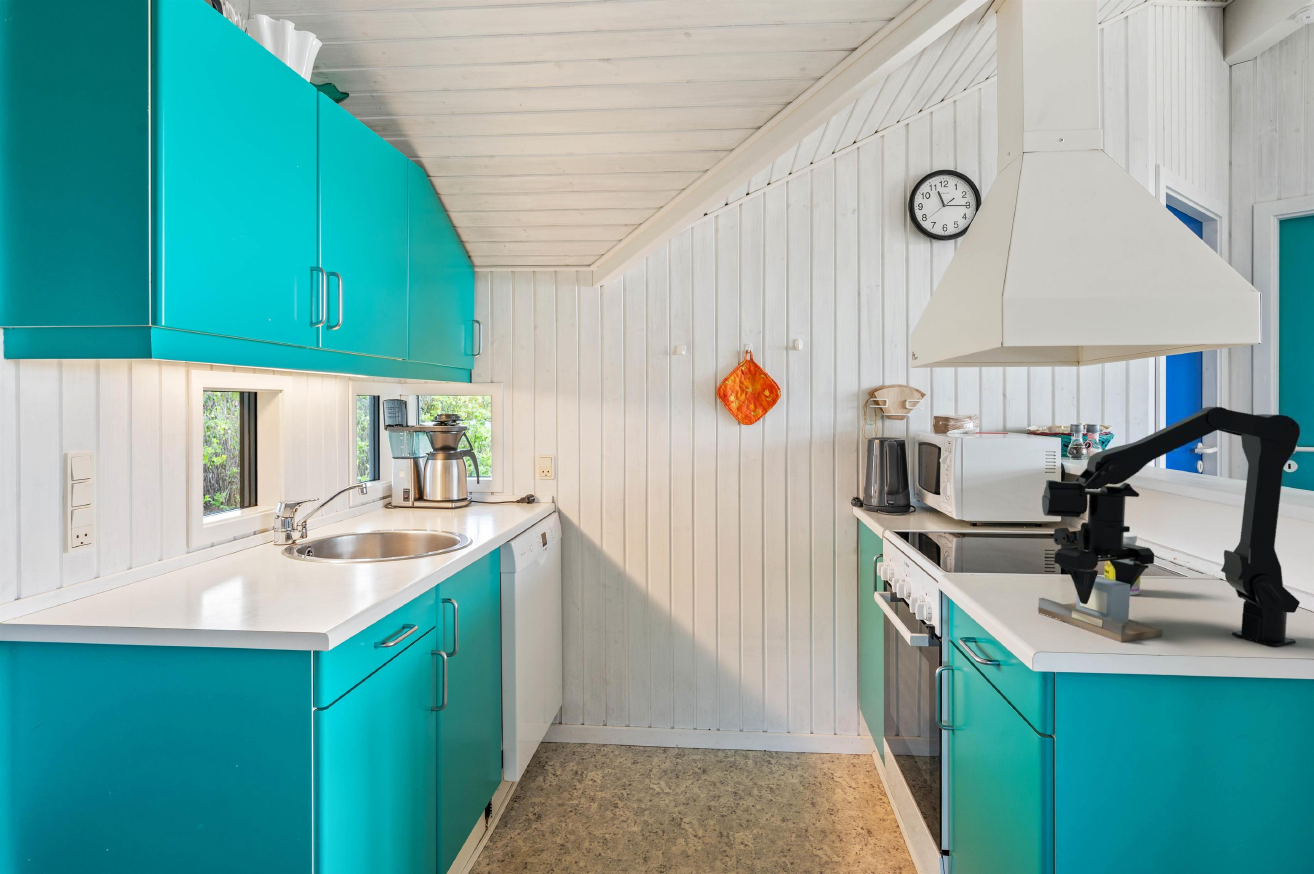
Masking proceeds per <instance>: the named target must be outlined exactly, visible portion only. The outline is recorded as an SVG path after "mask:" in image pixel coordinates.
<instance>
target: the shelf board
mask: <svg viewBox="0 0 1314 874" xmlns="http://www.w3.org/2000/svg"><path fill="white" fill-rule="evenodd" d="M1037 609H1038V610H1037V613H1038V612H1039V613H1038V614H1040V613H1042V614H1045V615H1048V616H1051V617H1053V618H1052V619H1054V618H1057V619H1060V620H1062V621H1065V622H1068V623H1071V624H1074V625H1076V626H1075V627H1077V626H1078V627H1077V628H1079V627H1081V628H1080V629H1082V628H1083V630H1085V629H1086V631H1088V630H1089V631H1088V632H1091V633H1094V634H1097V635H1100V636H1103V637H1105V638H1108V639H1111V640H1115V641H1117V642H1119V643H1125V642H1130V641H1131V642H1132V641H1136V640H1145V639H1152V638H1153V639H1154V638H1160V637H1163V629H1161V628H1158V627H1154V626H1152V625H1149V624H1145V623H1142V622H1138V621H1135V620H1133V619H1128V622H1123V623H1120V622H1117V621H1114V620H1110V619H1107V618H1104V617H1101V616H1098V615H1095V614H1092V613H1089V612H1086V611H1083V610H1080V609H1076V602H1072V603H1061V602H1058V601H1054V600H1052V599H1048V598H1045V597H1038V607H1037ZM1042 614H1041V615H1042ZM1045 615H1044V616H1045ZM1048 616H1047V617H1048ZM1051 617H1050V618H1051ZM1057 619H1056V620H1057ZM1062 621H1061V622H1062ZM1065 622H1064V623H1065ZM1068 623H1067V624H1068ZM1071 624H1070V625H1071ZM1074 625H1073V626H1074Z"/></svg>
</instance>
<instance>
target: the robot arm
mask: <svg viewBox="0 0 1314 874" xmlns="http://www.w3.org/2000/svg"><path fill="white" fill-rule="evenodd" d="M1216 431H1219V432H1223V433H1226V434H1230V435H1235V436H1239V437H1241V447H1242V448H1241V449H1242V450H1243V454H1244V455H1245V458H1246V461H1247V465H1248V468H1247V475H1246V483H1245V484H1246V485H1245V493H1244V503H1243V510H1242V511H1243V512H1242V520H1241V529H1240V530H1241V531H1240V539H1239V543H1238V544H1237V546H1236V547H1235V549H1234V550H1233V551H1232V550H1227V549H1225V550H1224V551H1223V558H1224V559H1223V566H1222V567H1221V570H1220V571H1221V573H1224V576H1225V580H1226V582H1227V583H1228V584H1229V585H1230V586H1231V587H1232V588H1233V589H1235V590H1234V591H1235V592H1236V595H1237V597H1238V598H1240V599H1242V600H1244V601H1243V604H1242V605H1243V606H1242V615H1241V629H1240V630H1235V631H1231V635H1232V636H1236V637H1238V638H1242V639H1246V640H1248V641H1249V640H1250V641H1252V642H1256V643H1259V644H1263V645H1266V646H1270V647H1278V646H1285V645H1291V644H1295V643H1297V640H1296V639H1294V638H1290V637H1287V636H1286V635H1287V618H1288V613H1290V614H1291V613H1292V614H1293V613H1296V611H1297V609H1298V607H1299V606H1300V604H1301V603H1300V602H1301V601H1300V600H1299V599H1297V598H1296V597H1295V596H1294V595H1293V594H1292V593H1291V592H1290V591H1289V590H1288V589H1286V587H1284V581H1283V572H1282V566H1281V563H1280V561H1279V560H1280V559H1279V557H1278V555H1277V552H1276V548H1275V547H1276V536H1277V528H1278V518H1279V510H1280V509H1279V508H1280V503H1281V502H1280V501H1281V495H1282V494H1281V493H1282V492H1281V491H1282V484H1283V483H1282V482H1283V475H1284V468H1285V466H1286V465H1287V463H1288V462H1289V460H1290V459H1291V457H1293V454H1294V453H1295V452H1296V449H1297V445H1298V442H1299V440H1300V437H1301V427H1300V423H1298V422H1297V421H1296V420H1294V418H1292V417H1290V416H1288V415H1284V414H1273V413H1271V414H1269V413H1268V414H1266V413H1265V414H1263V413H1259V414H1253V413H1248V412H1241V411H1236V410H1231V409H1228V408H1226V407H1222V406H1206V407H1203V408H1201V409H1199V410H1198V411H1197V412H1196V413H1193V414H1191V415H1189V416H1186V417H1184V418H1183V419H1180V420H1179V421H1176V422H1174V423H1172V424H1170V425H1168V426H1166V427H1164V428H1162V429H1160V430H1158V431H1156V432H1153V433H1151V434H1149V435H1147V436H1145V437H1142V438H1141V439H1139V440H1136V441H1134V442H1131V443H1127V444H1122V445H1118V446H1114V447H1110V448H1108V449H1103V450H1100V451H1097V452H1094V453H1093V454H1092V455H1091V456H1089V458H1088V460H1087V463H1086V468H1085V469H1084V470H1083V471H1082V472H1081V473H1080V474H1079V476H1078V477H1076V478H1075V480H1073V481H1058V480H1054V479H1051V480H1050V479H1047V480H1046V481H1045V482H1046V483H1045V487H1044V490H1043V495H1042V497H1041V507H1042V513H1043V515H1044V516H1047V517H1061V518H1062V517H1064V518H1080V517H1081V515H1084V514H1085V513H1086V512H1087V521H1086V522H1082V523H1081V524H1080V529H1078V530H1070V529H1069V528H1068V527H1066V526H1065V527H1057V528H1054V530H1053V536H1052V537H1053V542H1054V544H1055V545H1057V546H1060V548H1058V549H1057V550H1056V551H1054V553H1053V564H1055V565H1058V566H1059V567H1060V568H1061V569H1064V570H1065V571H1066V572H1067V573H1068V575H1070V577H1071V579H1072V582H1073V585H1074V588H1075V590H1076V595H1077V594H1078V597H1079V600H1080V602H1081V603H1082V604H1087V603H1088V601H1089V598H1090V596H1091V592H1092V589H1093V586H1094V583H1095V580H1096V577H1097V576H1098V573H1099V571H1098V570H1097V569H1096V568H1097V566H1098V565H1099V562H1105V561H1110V563H1111V564H1112V566H1113V567H1114V569H1115V580H1116V581H1119V582H1123V583H1127V584H1130V589H1131V588H1132V586H1133V585H1134V583H1135V582H1136V581H1137V579H1138V578H1139V577H1140V578H1141V576H1142V574H1143V573H1144V571H1145V570H1146V569H1147V570H1148V569H1149V567H1150V565H1151V564H1154V563H1155V553H1154V552H1153V550H1152V549H1151V548H1150V547H1147V546H1141V545H1137V544H1135V545H1132V544H1123V539H1124V533H1130V529H1131V526H1129V525H1125V517H1126V516H1125V515H1126V514H1125V513H1126V509H1125V508H1126V497H1128V498H1129V497H1131V498H1138V497H1140V493H1139V492H1138V491H1136V490H1135V489H1134V488H1133V487H1132V486H1131V484H1130V483H1129V482H1128V483H1127V482H1125V481H1127V480H1129V479H1130V478H1131V477H1133V476H1135V475H1137V473H1139V472H1140V471H1141V470H1142V469H1143V468H1145V466H1147V465H1148V464H1149V463H1151V462H1152V461H1153V460H1155V459H1158V458H1160V457H1163V456H1165V455H1167V454H1168V453H1172V451H1175V450H1177V449H1179V448H1183V446H1186V445H1188V444H1190V443H1193V442H1195V441H1197V440H1199V439H1201V438H1203V437H1205V436H1207V435H1209V434H1212V433H1214V432H1216ZM1119 484H1121V485H1120V486H1116V485H1119ZM1110 485H1111V486H1110ZM1112 485H1113V486H1112ZM1114 485H1115V486H1114ZM1108 555H1109V556H1108Z"/></svg>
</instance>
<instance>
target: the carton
mask: <svg viewBox="0 0 1314 874" xmlns="http://www.w3.org/2000/svg"><path fill="white" fill-rule="evenodd" d="M1130 596H1131V595H1130V584H1127V583H1123V582H1119V581H1116V580H1112V579H1108V578H1104V576H1099V575H1097V577H1096V580H1095V583H1094V586H1093V589H1092V592H1091V596H1090V598H1089V601H1088V603H1087V604H1082V603H1081V602H1080V600H1079V597H1078V594H1077V593H1076V602H1075V603H1076V609H1080V610H1083V611H1086V612H1089V613H1092V614H1095V615H1098V616H1101V617H1104V618H1107V619H1110V620H1114V621H1117V622H1120V623H1123V622H1128V619H1129V617H1130V616H1129V615H1130V601H1131V600H1130V599H1131V597H1130Z"/></svg>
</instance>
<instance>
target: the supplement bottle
mask: <svg viewBox="0 0 1314 874" xmlns="http://www.w3.org/2000/svg"><path fill="white" fill-rule="evenodd" d="M1137 538H1138V536H1137V534H1133V533H1130V532H1124V539H1123V544H1132V545H1136V543H1137V540H1138V539H1137ZM1108 556H1109V555H1108ZM1103 566H1104V567H1103V568H1104V569H1103V571H1104V572H1103V577H1104V578H1108V579H1112V580H1115V569H1114V567H1113V566H1112V564H1111V563H1110V561H1104V565H1103ZM1140 589H1141V576H1140V577H1139V578H1138V579H1137V581H1136V582H1135V583H1134V585H1133V586H1132V588H1131V589H1130V596H1136V595H1139V593H1140Z"/></svg>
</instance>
